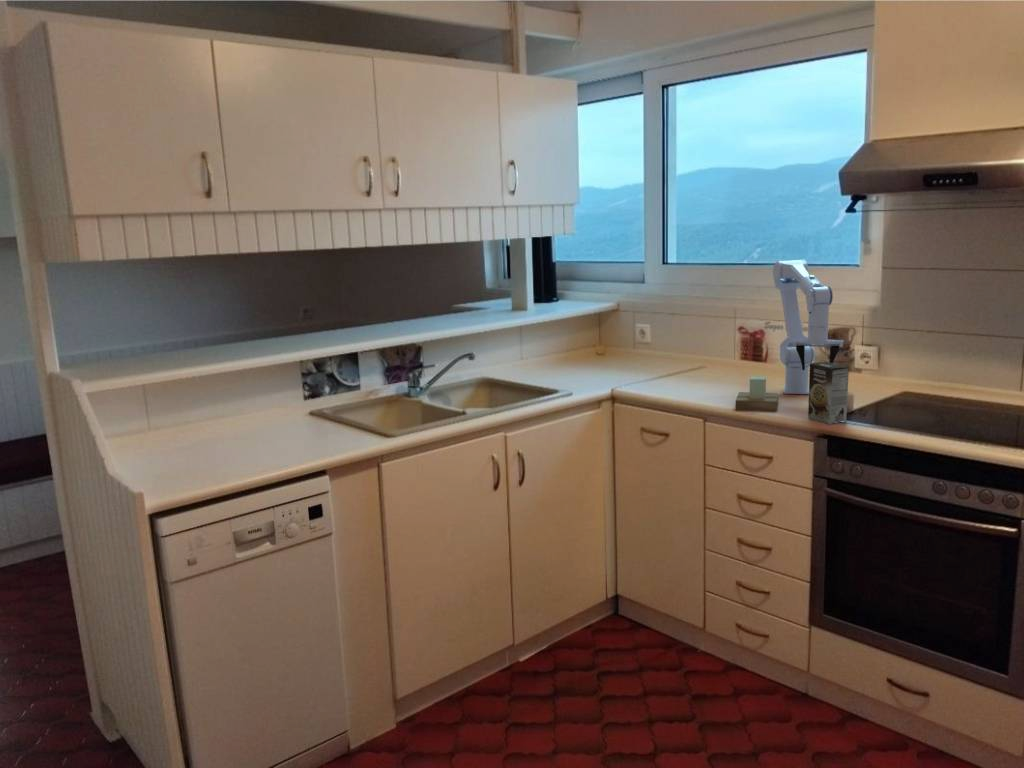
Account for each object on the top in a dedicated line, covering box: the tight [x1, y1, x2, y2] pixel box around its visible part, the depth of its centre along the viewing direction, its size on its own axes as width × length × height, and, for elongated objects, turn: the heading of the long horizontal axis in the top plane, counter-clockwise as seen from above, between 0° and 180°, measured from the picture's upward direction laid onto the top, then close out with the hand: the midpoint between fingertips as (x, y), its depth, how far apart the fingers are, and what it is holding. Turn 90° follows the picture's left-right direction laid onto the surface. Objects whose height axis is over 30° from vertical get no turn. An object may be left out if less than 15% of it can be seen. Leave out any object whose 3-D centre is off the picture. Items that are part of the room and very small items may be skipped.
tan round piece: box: [847, 392, 855, 413], centre depth 243 cm, size 5×5×5 cm
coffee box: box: [807, 361, 850, 425], centre depth 232 cm, size 9×6×16 cm
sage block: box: [749, 375, 767, 399], centre depth 252 cm, size 4×4×6 cm
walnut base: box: [735, 391, 780, 412], centre depth 253 cm, size 12×12×3 cm
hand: (816, 369), depth 253 cm, fingers open, 7 cm apart
